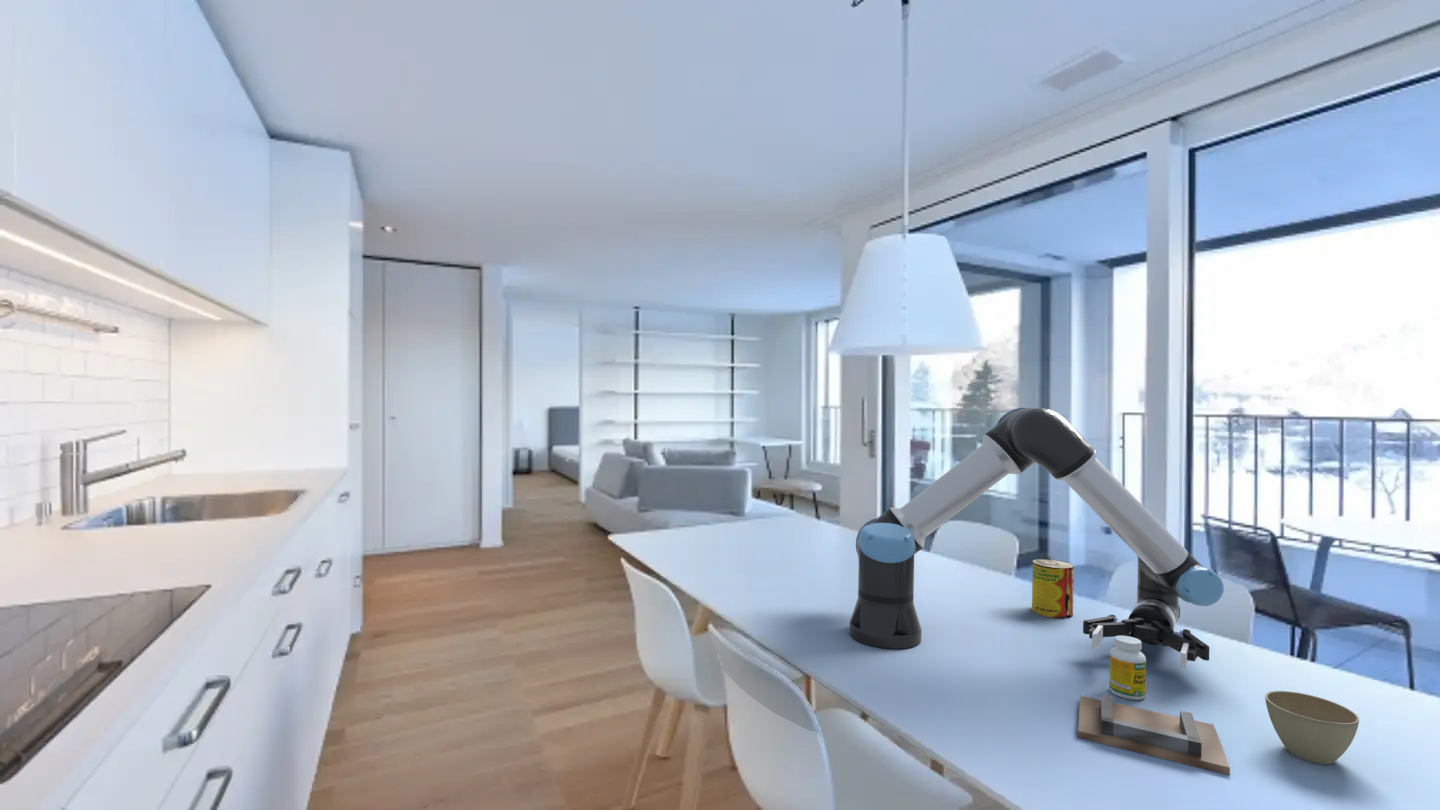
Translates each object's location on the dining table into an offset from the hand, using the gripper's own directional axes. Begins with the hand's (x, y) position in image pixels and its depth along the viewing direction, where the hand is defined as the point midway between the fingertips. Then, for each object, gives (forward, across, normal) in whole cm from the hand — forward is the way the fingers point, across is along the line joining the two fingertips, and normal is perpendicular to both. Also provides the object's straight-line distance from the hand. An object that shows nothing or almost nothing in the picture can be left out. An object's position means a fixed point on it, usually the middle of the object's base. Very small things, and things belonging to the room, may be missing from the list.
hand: (1136, 650), depth 115 cm
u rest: (+21, -4, -6) cm, 22 cm away
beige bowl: (+12, -23, -6) cm, 26 cm away
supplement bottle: (+7, 0, -6) cm, 9 cm away
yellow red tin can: (-34, +22, -6) cm, 41 cm away
